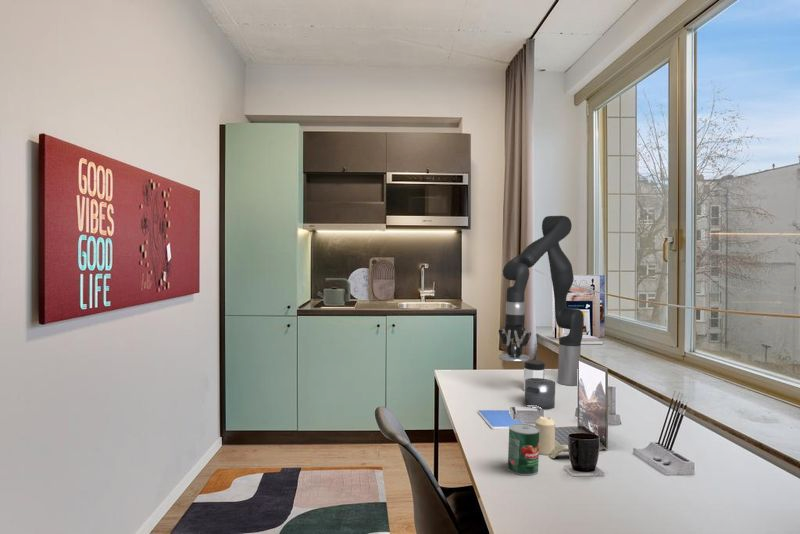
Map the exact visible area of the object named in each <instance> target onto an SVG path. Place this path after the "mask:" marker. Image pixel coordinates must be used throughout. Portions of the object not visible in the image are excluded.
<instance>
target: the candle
mask: <svg viewBox="0 0 800 534" xmlns="http://www.w3.org/2000/svg"><path fill="white" fill-rule="evenodd" d="M534 426H536V427H538V428H539V429H540V431H539V455H543V456H550V455H549V453H550V452H551V451H552V450H553V449H554V450H555V441H556V439H555V438H556V422H555V421H554V420H553V419H552V417H547V416H546V417H545V416H539V417H538V418H537V419H536V420H535V425H534Z"/></svg>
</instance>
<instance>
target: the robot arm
mask: <svg viewBox="0 0 800 534" xmlns="http://www.w3.org/2000/svg"><path fill="white" fill-rule="evenodd" d="M571 231H572V221H571V219H570V218H569V217H568V216H567V215H566V216H565V215H547V216H545V217H544V218H543V220H542V222H541V232H542V235H543V236H542V237H540V238H538V239H536V240H534V241H533V242H531V243H530V244H529V245H528V246H526V248H525V249H524V250H523V251H522V252H521V253H520V254H519V255H516V256H515V257H513V258H512V259H510V260H509V261H507V263H506V264H505V265H504V267H503V269H502V275H503V277H504V279H506V280H508V281H514V285H513V286H508V287H507V289H506V298H505V299H506V302H505V317H504V319H505V326H504V328H502V329H498V334H499V336H500V339H501V342H502V344H503V345H505V346H506V354H508V355H510V344H511V343H513V340H514V339H515V342H516V344H517V357H520V356H521V355H522V354H523V347H526V346H527V345H528V342H529V341H530V338H531V336H532V332H531V331H529V332H528V331H527V330H526V328H525V320H526V319H525V316H526V315H525V314H526V313H525V312H526V307H525V291H526V289H527V284H528V282H529V279H530V268H533V267H534V266H535V265H536V263H538V262H539V260H540V259H541V258H542V257H543V256H544V255H545V254H546V253H547V258H548V263H549V270H550V278H551V283H552V288H553V289H552V290H553V298H554V315H555V322H556V325H557V326H558V327H559V328H560V329H565V330H569V331H568V334H567V335H564V336H561V337H559V338H558V359H557V360H558V364H557V365H558V366H557V367H558V368H557V383H558V384H560V385H564V386H571V385H574V386H578V385H577V369H578V359H579V358H580V359H581V353H582V352H581V349H582V348H581V345H582V340H583V333H584V321H585V319H584V313H583V311H582V310H580V309H579V308H578V309H577V308H571V307H569V308H568V306H567V296H568V294H569V292H570V290H571V288H572V285H574V284H573V283H574V272H573V271H574V270H573V267H572V266H573V265H572V263H571V261H570V260H569V258H568V256H567V255H566V254H565V253H564V251H563V249H562V248H561V246H560V242H561V241H562V240H564V239H565V238H566V237H567V236H569V234H570V233H571ZM523 336H524V337H523Z"/></svg>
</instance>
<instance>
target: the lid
mask: <svg viewBox="0 0 800 534" xmlns="http://www.w3.org/2000/svg"><path fill="white" fill-rule="evenodd" d="M498 359H499V360H500V361H502V362H503V361H504V362H508V363H525V362H526V361H529V360H531V358H530V356H529V355H527V354H523V353H522V355H521V356H520V357H517V342H516V343H515V342H514V343H513V342H512V343H511V344H510V355H508V354H507V353H501V354H499V355H498Z"/></svg>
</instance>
